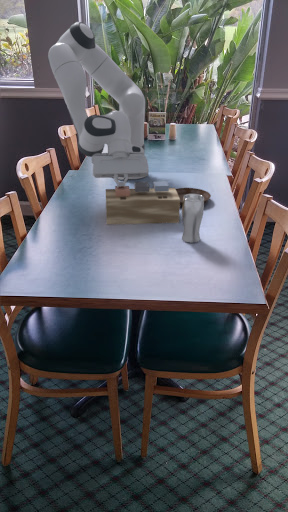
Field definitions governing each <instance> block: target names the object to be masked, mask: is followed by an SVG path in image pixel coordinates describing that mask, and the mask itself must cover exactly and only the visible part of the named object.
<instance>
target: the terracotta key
mask: <svg viewBox="0 0 288 512" xmlns="http://www.w3.org/2000/svg"><path fill="white" fill-rule="evenodd" d="M114 187H115V188H114V189H115V194H116V196H130V189H131V188H130V186H129V185H125V188H117V185H115V186H114Z"/></svg>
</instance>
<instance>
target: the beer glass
mask: <svg viewBox="0 0 288 512" xmlns="http://www.w3.org/2000/svg"><path fill="white" fill-rule="evenodd" d="M204 206H205V204H204V197H203V196H202V195H199V194H187V195H184V198H183V205H182V206H181V216H182V225H183V231H182V236H181V241H182V242H184V241H185V243H187V242H190V243H189V244H194V243H193V242H197V243H199V242H200V241H199V240H201V237H200V228H201V224H202V221H203V215H204V210H205V207H204ZM198 241H199V242H198Z"/></svg>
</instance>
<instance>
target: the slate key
mask: <svg viewBox="0 0 288 512" xmlns="http://www.w3.org/2000/svg"><path fill="white" fill-rule="evenodd" d="M152 185H153V188H154V191H169V188H170V186H169V183H168V181H166V180H165V181H162V180H161V181H153V183H152Z"/></svg>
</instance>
